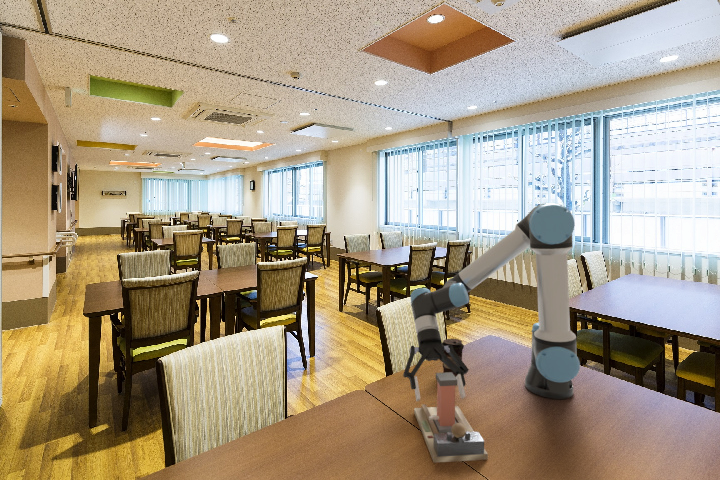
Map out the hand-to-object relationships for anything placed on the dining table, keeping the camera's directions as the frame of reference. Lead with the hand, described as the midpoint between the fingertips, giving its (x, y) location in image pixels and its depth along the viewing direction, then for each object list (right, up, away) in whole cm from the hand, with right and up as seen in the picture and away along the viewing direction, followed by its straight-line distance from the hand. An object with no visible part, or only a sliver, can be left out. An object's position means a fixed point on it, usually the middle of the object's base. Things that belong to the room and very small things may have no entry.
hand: (441, 398), depth 113 cm
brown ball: (+1, -4, -15) cm, 16 cm away
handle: (0, -6, -4) cm, 7 cm away
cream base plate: (+1, -8, -5) cm, 9 cm away
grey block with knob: (+1, -7, -15) cm, 16 cm away
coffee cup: (+11, -4, +32) cm, 34 cm away
